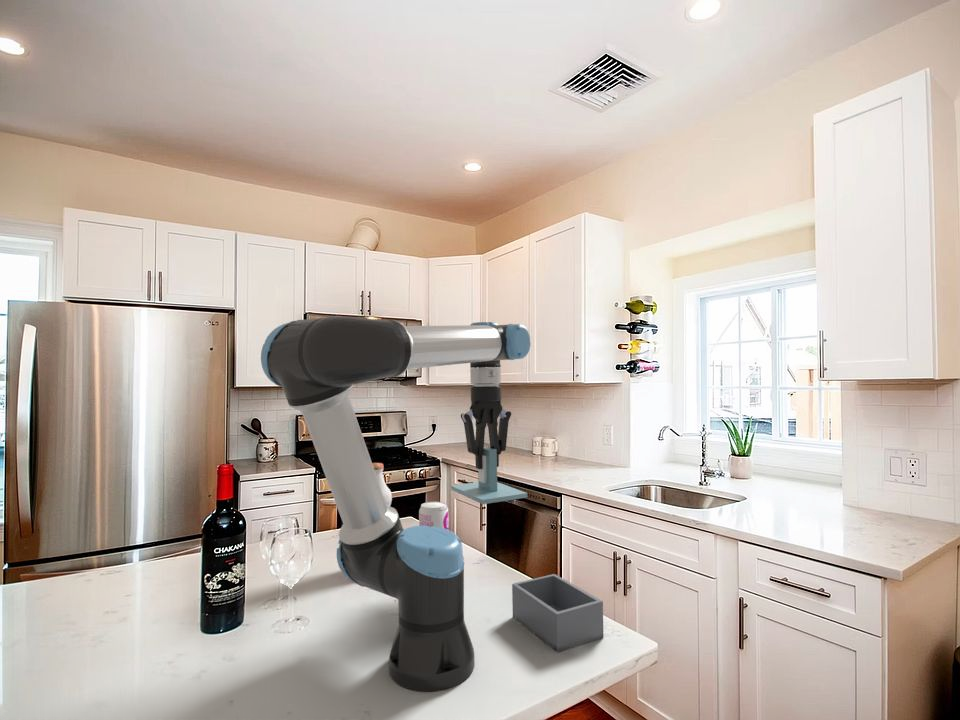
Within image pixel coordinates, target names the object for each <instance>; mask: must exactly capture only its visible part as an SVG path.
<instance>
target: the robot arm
mask: <svg viewBox="0 0 960 720" xmlns="http://www.w3.org/2000/svg"><path fill="white" fill-rule="evenodd" d="M530 351H531V335H530V333H529V330H528V328H527V327H526V326H525V325H523V324H521V323H514V324H513V323H508V324H498V323H497V322H493V321H479V322H478V321H477V322H471V323H470V325H468V324H467V325H465V324H464V325H462V324H461V325H404V324H403V323H401V322H400V321H398V320H395V319H389V320H388V319H386V320H385V319H374V318H363V317H356V316H354V317H353V316H343V315H332V316H330V315H329V316H326V317H318V318H311V319H310V318H309V319H297V320H293V321H290V322H287V323H286V322H285V323H283V324H280V325H279V326H277V327H276V328H274V329H273V330H272V331H271V332H270V333H268V335H267V336H266V339H265V341H264V343H263V345H262V346H261V353H260V363H261V368H262V370H263V371H262V372H264V374H265V376H266V377H267V379H268V380H269V381H270V382H272V383H273V384H274V385H276V386H278V387H281V388H282V390H283V393H284V395H285V398H286V401H287V403H288V405H289V407H290V408H293V409H294V410H297V411H299V412H301V415H302V417H303V419H304V423H305V425H306V428H307V431H308V432H309V436H310V439H311V441H312V443H313V447H314V450H315V451H316V455H317V456H318V460H319V462H320V464H321V468H322V471H323V473H324V476H325V478H326V479H325V480H327V481H326V482H327V484H328V486H329V489H330V492H331V494H332V498H333V499H334V503H335V505H336V508H337V510H338V511H337V512H338V514H339V515H340V518H341V521H342V525H341V527H340V529H339V532H338V537H339V538H338V539H339V540H338V541H337V542H338V543H337V544H338V548H336V559H337V561H336V562H337V565H338V567H339V570H340V571H341V573H342V574H343V575H344V576H345V578H347V579H349V580H350V581H351V582H353V583H355V584H356V585H358V586H360V587H363V588H364V587H366V588H367V589H371V590H373V591H376V592H378V593H382V594H384V595H386V596H389V597H392V598H393V599H394V598H395V599H396V600H397V601H398V602H397V603H398V608H397V609H398V624H397V629H396V632H395V634H394V639H393V642H392V645H391V648H390V651H389V657H388V672H389V675H390V678H391V679H392V680H393V681H394V682H395V683H396V684H398V685H399V686H401V687H402V688H403V687H404V688H406V689H410V690H413V691H420V692H423V691H424V692H432V691H433V692H435V691H441V690H445V689H449V688H452V687H454V686H457V685H458V684H461V683H462V682H463V681H465V680H467V678H469V677H470V676H471V674H472V673H473V671H474V669H475V649H474V646H473V642H472V640H471V637H470V633H469V631H468V628H467V625H466V622H465V607H464V606H465V599H464V598H465V573H464V570H465V557H464V553H463V544H462V541H461V539H460V537H459V536H458V535H457V534H456V533H455V532H453V531H452V530H450V529H449V530H447V529H444V528H441V527H437V526H432V527H429V526H427V525H421V526H419V525H415V526H410V527H408V528H405V529H404V527H403V525H402V521H401V519H400V516H399V513H398V511H397V509H396V508H395V507H392V506H391V505H390V506H387V505H386V502H385V499H384V496H383V494H382V491H381V488H380V485H379V482H378V479H377V476H376V473H375V470H374V467H373V465H372V463H373V462H372V459H371V456H370V453H369V450H368V447H367V444H366V442H365V439H364V435H363V433H362V430H361V428H360V425H359V422H358V421H359V420H358V419H357V416H356V413H355V410H354V407H353V404H352V402H351V399H350V393H351V391H352V389H353V387H354V385H358V384H362V383H363V384H364V383H367V382H372V381H375V380H382V379H387V378H395V377H399V376H401V375H403V374H404V373H406V371H407V370H415V369H421V368H423V369H424V368H433V367H443V366H453V365H461V364H462V365H463V364H470V367H469V369H470V371H469V372H470V384H471V385H472V386H471V388H470V402H471V405H470V407H469V410H468V411H466V412H465V413H461V414H460V418H461V420H462V423H463V426H464V433H465V440H466V446H467V452H468V453H469V454H473V455H474V456H475V457H474V458H475V468H476V470H478V469H479V481H480V482H482V483H487V475H486V456H485V455H483V451H484V447H485V434H486V428H488V437H489V438H488V439H489V448H493V449H496V450H497V468H498V467H499V466H500V456H499V455H501V454H502V452H505V451H506V449H507V440H508V431H509V421H510V420H511V419H510V418H511V416H512V412H511V411H508V410H505V408H503V405H502V386H501V385H499V384H501V383H502V374H501V373H502V371H501V370H502V369H501V367H502V366H501V361H505V360H506V361H508V360H509V361H514V360H521V359H524V358H526V356H527V355H528V354H529V352H530ZM473 418H474V419H475V428H476V429H475V430H474V422H473ZM498 418H499V422H498ZM498 423H499V424H498Z"/></svg>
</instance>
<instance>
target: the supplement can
mask: <svg viewBox="0 0 960 720" xmlns="http://www.w3.org/2000/svg"><path fill="white" fill-rule="evenodd" d="M418 520H419V521H418V523H419V524H418V526H421V525H427V526H429V527H432V526H437V527H441V528H444V529H447V530H449V531H450V529H449V528H450V527H449V526H450V524H449V523H450V522H449V508H448V505H447V503H445V502H442V501H427V502H424V503H421V505H420V508H419V510H418Z"/></svg>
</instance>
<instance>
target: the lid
mask: <svg viewBox="0 0 960 720" xmlns="http://www.w3.org/2000/svg"><path fill="white" fill-rule="evenodd" d="M483 455H485V456H486V475H487V483H482V482H480V481H479V469H477V471H478V472H477V474H478V477H477V478H478V481H476V482H469V483H462V484H454V485H450V490H451V491H453V492H454V493H455V492H456V493H458V495H459V494H460V495H461V496H463V497H466V498H468V499H471V500H472V501H475V502H476V503H479V504H481V505H486V504H487V505H488V504H492V503H493V504H494V503H500V502H507V501H513V500H519V499H525V498H526V499H527V498H528V492H525V491H523V490H520V489H517V488H514V487H511V486H509V485H506V484H503V483H501V482H498V467H497V450H496V449H493V448H490V446H489V447H487V446H484V451H483Z"/></svg>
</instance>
